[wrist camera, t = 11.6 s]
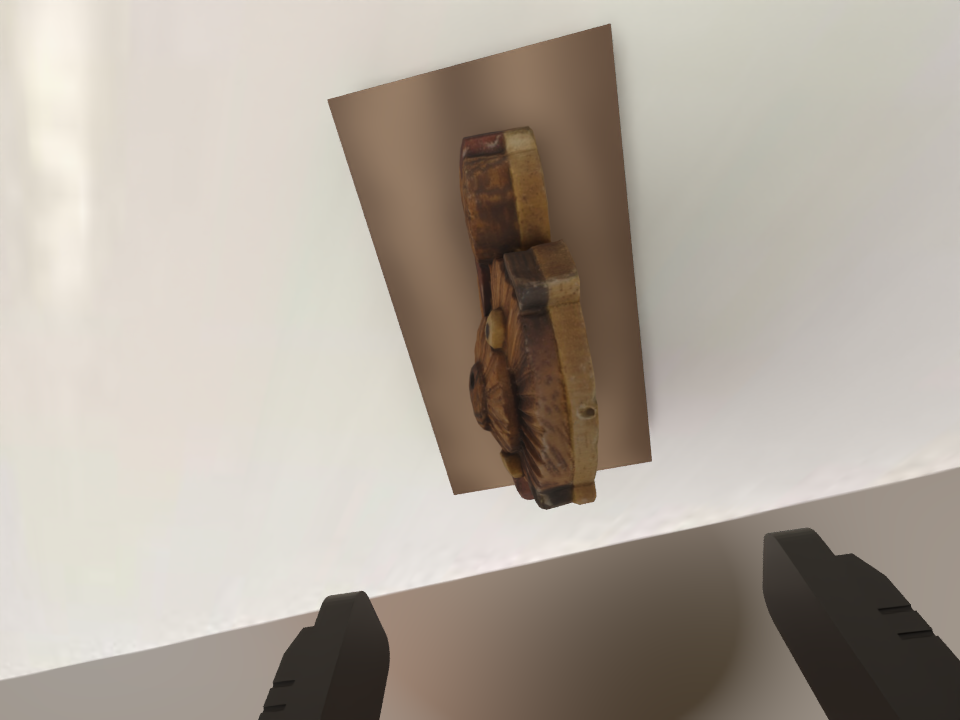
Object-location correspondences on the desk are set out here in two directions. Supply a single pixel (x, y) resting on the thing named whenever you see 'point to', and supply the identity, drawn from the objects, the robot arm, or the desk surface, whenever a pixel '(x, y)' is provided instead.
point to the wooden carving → (528, 325)
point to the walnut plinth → (445, 242)
